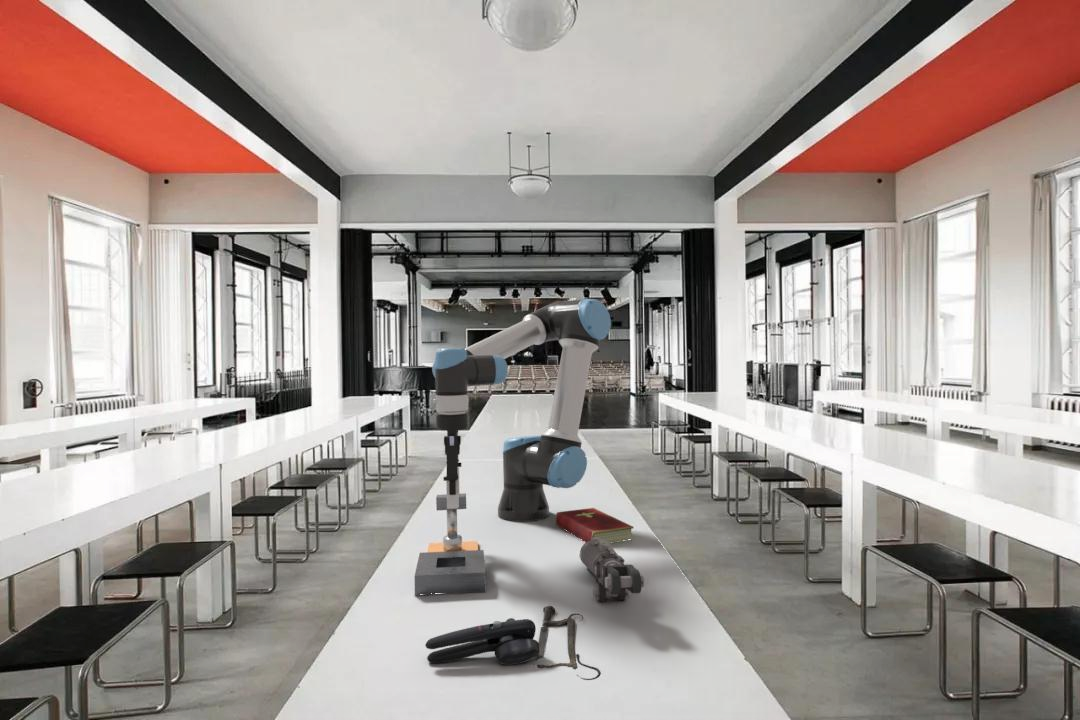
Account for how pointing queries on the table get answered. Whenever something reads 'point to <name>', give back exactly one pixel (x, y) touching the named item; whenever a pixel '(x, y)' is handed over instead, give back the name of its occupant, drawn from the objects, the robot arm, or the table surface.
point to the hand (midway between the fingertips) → (453, 500)
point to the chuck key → (451, 523)
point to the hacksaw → (571, 629)
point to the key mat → (465, 547)
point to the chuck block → (450, 572)
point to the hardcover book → (593, 525)
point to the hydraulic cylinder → (610, 571)
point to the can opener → (488, 642)
